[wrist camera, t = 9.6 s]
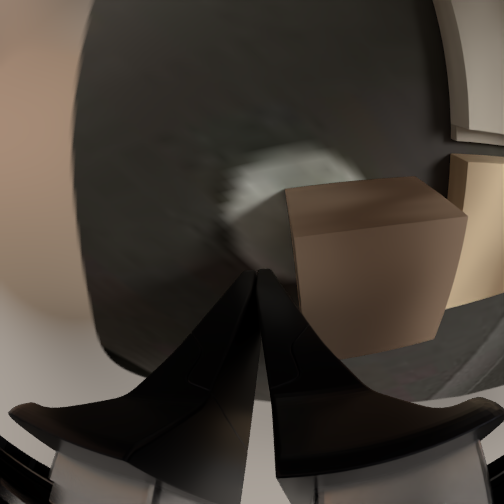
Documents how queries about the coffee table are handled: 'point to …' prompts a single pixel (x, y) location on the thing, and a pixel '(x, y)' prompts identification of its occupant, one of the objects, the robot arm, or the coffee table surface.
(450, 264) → the block
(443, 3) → the laid plank
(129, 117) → the coffee table surface
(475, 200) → the panel
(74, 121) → the coffee table surface
